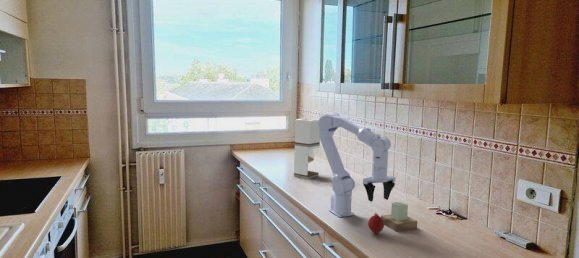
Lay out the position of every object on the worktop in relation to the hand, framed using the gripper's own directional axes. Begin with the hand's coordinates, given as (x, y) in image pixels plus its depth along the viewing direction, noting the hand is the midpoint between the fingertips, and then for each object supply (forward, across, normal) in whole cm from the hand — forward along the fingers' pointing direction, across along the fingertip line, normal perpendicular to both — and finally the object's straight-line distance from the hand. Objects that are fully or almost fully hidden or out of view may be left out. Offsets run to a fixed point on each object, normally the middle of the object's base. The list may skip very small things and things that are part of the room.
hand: (378, 199), depth 153 cm
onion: (+10, -8, -10) cm, 16 cm away
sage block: (+6, +6, -6) cm, 11 cm away
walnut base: (+9, +6, -6) cm, 13 cm away
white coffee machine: (+10, +7, +82) cm, 83 cm away
